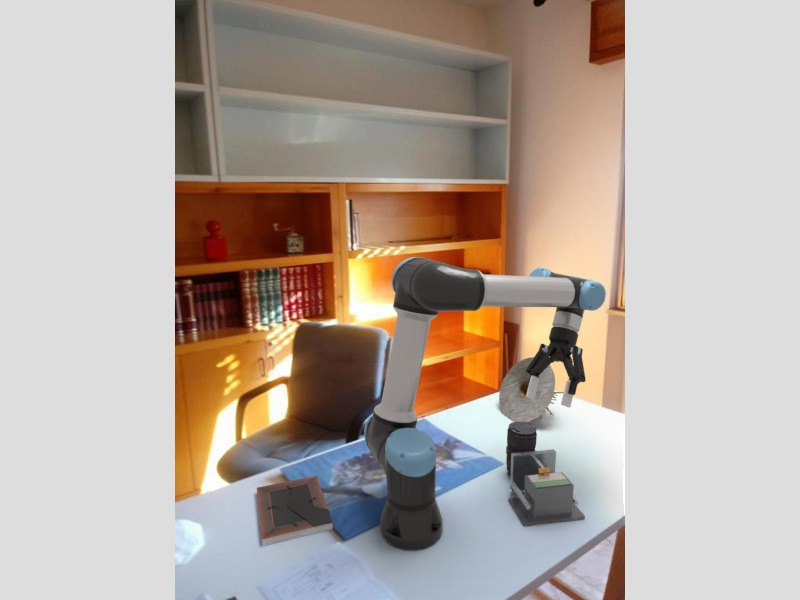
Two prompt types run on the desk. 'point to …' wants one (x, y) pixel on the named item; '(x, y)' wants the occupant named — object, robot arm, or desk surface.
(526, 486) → the grey box on baseplate
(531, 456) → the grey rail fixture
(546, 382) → the disc
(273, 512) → the picture frame
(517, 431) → the camera lens
